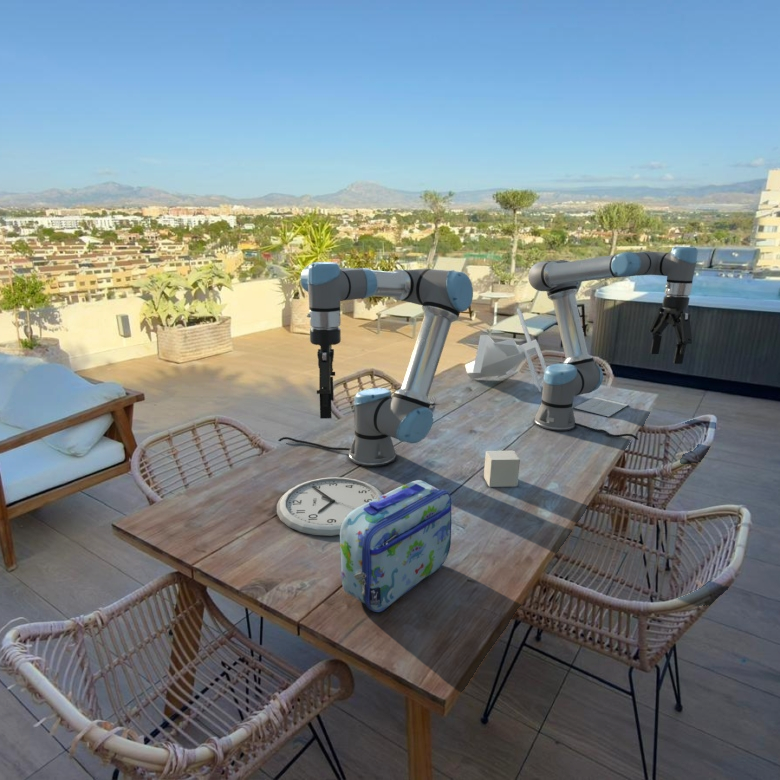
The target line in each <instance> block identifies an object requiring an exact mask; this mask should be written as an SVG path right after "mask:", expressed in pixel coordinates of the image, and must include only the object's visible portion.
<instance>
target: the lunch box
mask: <svg viewBox="0 0 780 780" xmlns="http://www.w3.org/2000/svg"><path fill="white" fill-rule="evenodd" d="M383 494H384V495H382V496H380V497H378V498H376V499H374V500H372V501H370V502H368V503H366V504H364V505H362V506H360V507H358V508H356V509H354V510H353V511H351V512H350V513H349V514H348V515H347V516H346V518H345V519H344V521H343V523H342V526H341V530H340V535H339V551H340V574H341V576H340V577H341V585H342V588H343V589H342V590H343V591H344V593H346V594H348V595H350V596H352V597H353V598H355V599H357V600H358V601H359V602H361V603H362V604H364V605H365V606H366V608H367V609H369V610H370V611H371V612H374V613H381V612H384V611H385V610H386V609H387V608H389V607H390V606H391V605H392V604H393V603H395V602H396V601H397V600H399V599H400V598H401V597H402V596H404V595H405V594H407V593H408V592H410V591H411V590H412V589H413V588H415V587H416V586H417V585H418V584H419V583H420V582H421V581H423V580H425V579H426V578H427V577H429V576H430V575H432V574H434V573H435V572H436V571H438V570H439V569H440V568H441V567H442V566H443V565H444V563H445V562H446V560H447V558H448V556H449V553H450V550H451V549H450V548H451V545H452V543H451V542H452V497H451V494H450V492H449V491H448V490H446V489H438V488H437V487H435V486H434V485H431V484H429V483H427V482H426V481H424V480H421V479H416V480H413V481H410V482H408V483H405V484H403V485H401V486H399V487H397V488H394V489H393V490H390V491H388V492H387V493H383Z"/></svg>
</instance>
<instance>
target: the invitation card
mask: <svg viewBox="0 0 780 780" xmlns="http://www.w3.org/2000/svg"><path fill="white" fill-rule="evenodd" d="M628 406H629V404H627V403H623V402H618V401H614V400H609V399H605V398H601V397H596V396H593V397H592V398H590V399H588V400H586V401H584V402H582V403H580V404H578V405H575V406H574V407H573V409H575V410H581V411H584V412H587V413H593V414H596V415H600V416H604V417H608V418H609V417H611V416H613V415H614V414H616V413H617V412H619V411H621V410H623V409H624V408H626V407H628Z"/></svg>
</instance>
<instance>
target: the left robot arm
mask: <svg viewBox="0 0 780 780" xmlns="http://www.w3.org/2000/svg"><path fill="white" fill-rule="evenodd" d="M300 285H301V288H302V289H303V290H304V291H305V292H307V293H308V309H309V311H308V313H307V314H306V317H307V318H309V326H310V327H311V328H310V329H309V341H310V344H312V345H314V346H319V347H320V348H318V349H317V353H316V354H317V366H318V369H319V370H318V371H319V372H318V373H319V377H318V378H319V382H318V383H319V384H318V385H319V386H318V388H319V389H318V390H317V389H316V394H317V395H319V419H323V420H324V419H332V402H333V401H334V377H336V372H335V371H334V368H333V365H334V364H333V362H334V356H335V349H334V348H333V347H332V346H335V345H338V344H340V343H341V342H342V341H341V340H342V339H341V338H342V337H341V336H342V335H341V333H342V332H341V330H342V329H341V328H340V327H341V325H342V323H341V321H342V319H341V316H342V314H341V313H342V311H341V302H343V301H351V300H352V301H353V300H364V299H367V298H371V297H377V298H378V297H379V298H381V297H382V298H392V299H393V300H394V301H399V302H405V303H406V302H407V303H409V304H410V303H411V304H415V305H419V306H421V309H422V311H423V314H424V316H423V319H422V322H421V325H420V328H419V331H418V335H417V337H416V340H415V344H414V346H413V350H412V353H411V356H410V359H409V362H408V365H407V368H406V371H405V374H404V377H403V380H402V384H401V386H400V388H399V389H397V390H395V391H394V392H393V394H392V392H391V390H390V389H388V388H383V387H382V388H380V387H375V388H368V389H367V388H365V389H363V390H360V391H358V392H356V394H355V395H354V404H353V415H354V417H353V418H354V420H353V421H354V436H353V439H352V442H351V445H350V447H333V446H327V445H324V444H320V443H315V442H311V441H307V440H301V439H300V440H299V439H296V438H292V437H289V436H283V437H280V438H279V439H278V440H277V441H278V442H281V441H284V440H289V441H292V442H296V443H300V444H306V445H311V446H315V447H319V448H322V449H327V450H331V451H349V452H348V457H349V460H350V461H351V462H352V463H354V464H356V465H358V466H362V467H370V468H377V467H383V466H387V465H389V464H391V463H393V462H394V461H395V460H396V449H395V445H394V443H393V440H392V438H393V439H396V440H398V441H400V442H403V443H408V444H418V443H420V442H421V441H422V440H424V439H426V437H427V436H428V435H429V433H430V432H431V430H432V427H433V424H434V418H433V417H434V414H433V412H432V410H431V409H430V407H431V405H432V404H431V403H430V399H429V394H430V391H431V388H432V386H433V385H432V384H433V382H434V379H435V375H436V372H437V369H438V366H439V363H440V359H441V356H442V353H443V350H444V348H445V344H446V341H447V338H448V335H449V332H450V329H451V326H452V323H454V322H456V321H457V320H459V317H460V313H463V312H466V311H468V309H469V308H470V307H471V305H472V304H473V303H472V302H473V300H474V299H473V297H474V288H473V284H472V281H471V279H470V277H469V275H467V274H466V273H465V272H462V271H457V270H454V269H452V270H447V269H434V268H416V269H415V268H414V269H395V270H394V271H382V270H372V269H370V268H363V267H358V268H350V267H349V268H348V267H340V264H339V263H338V262H332V261H318V262H317V261H315V262H312V263H311V262H310V264H309V265H307V266H305V267H304V268H303V269H302V271H301V273H300Z"/></svg>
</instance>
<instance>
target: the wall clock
mask: <svg viewBox="0 0 780 780" xmlns="http://www.w3.org/2000/svg"><path fill="white" fill-rule="evenodd" d="M384 494H385V493H383V492H382V491H381V490H380V489H379V488H377V487H376V486H374V485H372V484H371V483H369V482H365V481H362V480H359V479H355V478H349V477H338V476H337V477H335V476H333V477H332V476H331V477H322V478H317V479H312V480H307V481H305V482H302V483H299V484H297V485H295V486H293V487H292V488H290V489H288V490H287V491H286V492H285V493H284V494H283V495H281V496H280V498H279V499H278V502H277V503H276V515H277V517H278V518H279V520H280V521H281V522H282V523H283V524H285V525H286V526H287V527H288V528H290V529H293V530H295V531H297V532H299V533H303V534H308V535H312V536H327V537H328V536H329V537H331V536H332V537H333V536H340V530H341V526H342V523H343V521H344V519H345V518H346V516H347V515H348V514H349V513H350V512H351V511H353V510H354V509H356V508H358V507H360V506H362V505H364V504H366V503H368V502H370V501H372V500H374V499H376V498H378V497H380V496H382V495H384Z"/></svg>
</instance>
